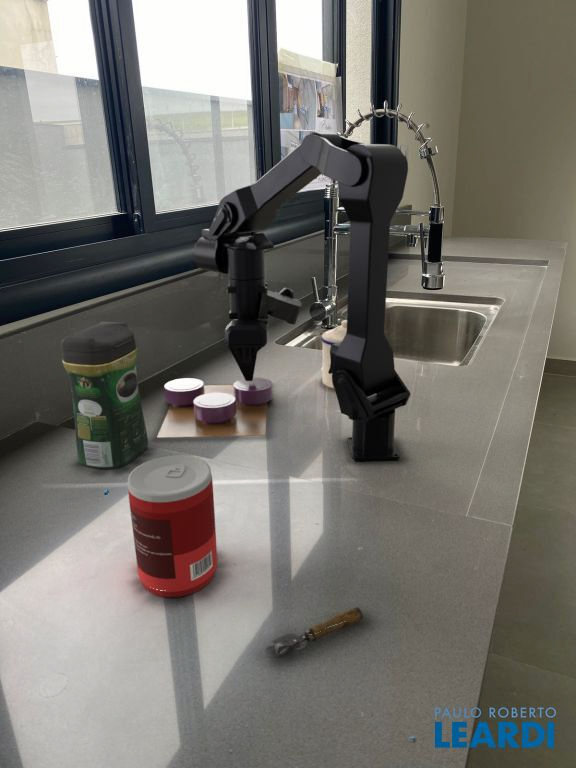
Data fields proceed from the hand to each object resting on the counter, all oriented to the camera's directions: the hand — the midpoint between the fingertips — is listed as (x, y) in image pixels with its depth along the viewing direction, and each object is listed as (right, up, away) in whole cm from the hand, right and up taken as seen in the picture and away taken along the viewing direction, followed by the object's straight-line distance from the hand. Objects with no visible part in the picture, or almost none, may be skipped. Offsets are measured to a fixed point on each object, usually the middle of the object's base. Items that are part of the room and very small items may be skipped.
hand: (250, 371), depth 100 cm
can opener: (+9, -24, -49) cm, 55 cm away
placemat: (-5, -6, -1) cm, 8 cm away
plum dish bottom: (-5, -7, -5) cm, 10 cm away
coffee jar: (-18, -12, -16) cm, 27 cm away
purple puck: (0, -5, +2) cm, 5 cm away
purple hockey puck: (-11, -5, +2) cm, 12 cm away
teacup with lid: (+18, -2, +11) cm, 21 cm away
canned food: (-5, -21, -40) cm, 46 cm away
